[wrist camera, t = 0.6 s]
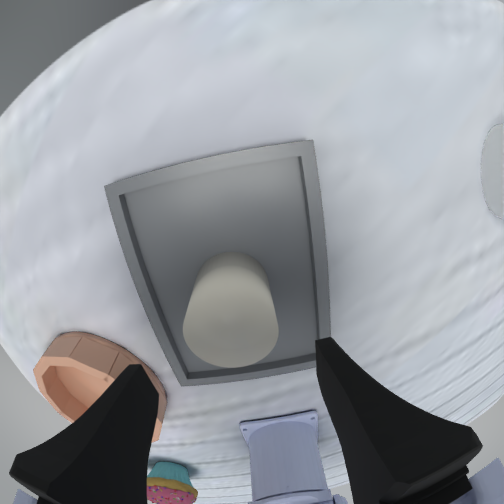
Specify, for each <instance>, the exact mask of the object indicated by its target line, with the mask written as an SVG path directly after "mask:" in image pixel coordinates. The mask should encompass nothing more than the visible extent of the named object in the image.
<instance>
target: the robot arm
mask: <svg viewBox="0 0 504 504" xmlns="http://www.w3.org/2000/svg"><path fill="white" fill-rule="evenodd" d="M315 349H316V370H317V378H318V382H319V386H320V389H321V393H322V397H323V399H324V402H325V404H326V407H327V410H328V412H329V415H330V417H331V420H332V422H333V425H334V428H335V430H336V433H337V435H338V438H339V441H340V444H341V447H342V451H343V455H344V459H345V464H346V468H347V472H348V477H349V481H350V486H351V491H352V496H353V502H354V504H504V467H503V465H502V463H501V461H500V460H499V458H496V459H495V460H494V461H492V462H491V463H490V464H488V465H487V466H486V467H484V468H483V469H482V470H480V471H479V472H478V473H476V474H475V475H474V476H472V477H471V478H469V479H468V478H467V476H466V474H467V473H469V470H468V468H467V466H466V465H467V464H468V463H469V462H470V461H471V460H472V459H473V458H474V457H475V456H476V455H477V454H478V453H479V452H480V450H481V449H482V446H483V445H482V443H481V442H480V440H479V438H478V436H477V435H476V433H475V432H474V431H473V429H472V428H471V427H469V426H465V425H461V424H458V423H454V422H451V421H448V420H445V419H443V418H440V417H437V416H435V415H432V414H430V413H428V412H426V411H424V410H422V409H420V408H418V407H416V406H414V405H412V404H410V403H408V402H407V401H405V400H403V399H402V398H400V397H398V396H397V395H395V394H394V393H392V392H391V391H389V390H388V389H387V388H385V387H384V386H382V385H381V384H380V383H379V382H377V381H376V380H375V379H374V378H372V377H371V376H370V375H369V374H368V373H366V372H365V371H364V370H363V369H362V368H361V367H360V366H359V365H358V364H357V363H355V362H354V361H353V360H352V359H351V358H350V357H349V356H348V355H347V354H346V353H345V352H344V351H343V349H342V348H341V347H340V346H339V345H338V344H337V343H336V342H335V341H334V339H333V338H331V337H327V338H323V339H319V340H315ZM158 406H159V393H158V391H157V390H156V388H155V386H154V385H153V383H152V382H151V380H150V378H149V377H148V375H147V373H146V371H145V370H144V368H143V366H142V364H129V365H128V366H127V367H126V368H125V369H124V370H123V371H122V372H121V374H120V375H119V376H118V377H117V378H116V379H115V380H114V381H113V383H112V384H111V385H110V386H109V387H108V388H107V389H106V390H105V392H104V393H103V394H102V395H101V396H100V397H99V398H98V399H97V400H96V401H95V402H94V403H93V404H92V405H91V406H90V407H89V408H88V409H87V410H86V411H85V412H84V413H83V414H82V415H81V416H80V417H79V418H78V419H77V420H75V421H74V422H73V423H72V424H71V425H70V426H68V427H67V428H66V429H64V430H63V431H61V432H60V433H58V434H57V435H55V436H54V437H53V438H51V439H49V440H47V441H46V442H44V443H42V444H40V445H38V446H36V447H34V448H32V449H30V450H27V451H25V452H22V453H20V454H17V455H16V457H15V460H14V462H13V465H12V467H11V470H10V472H9V474H10V476H11V477H12V478H14V479H15V480H16V481H17V482H19V483H20V484H22V485H23V486H25V487H26V488H27V489H29V490H30V491H32V492H33V493H35V494H36V495H38V496H39V498H38V500H37V499H35V498H33V497H32V496H30V495H28V494H26V493H25V492H23V491H22V490H20V489H18V491H17V494H16V496H15V499H14V503H13V504H147V467H148V458H149V452H150V447H151V443H152V438H153V433H154V429H155V424H156V420H157V415H158ZM239 428H240V430H241V432H242V435H243V437H244V439H245V441H246V443H247V445H248V447H249V449H250V467H251V484H252V501H253V502H248V504H348V503H347V501H346V499H345V497H342V496H340V495H339V494H336V495H333V500H332V496H331V491H330V489H328V487H327V482H326V478H325V474H324V470H323V465H322V461H321V457H320V453H319V448H318V414H317V412H316V411H310V412H305V413H300V414H295V415H290V416H284V417H278V418H272V419H266V420H259V421H251V422H243V423H240V424H239Z"/></svg>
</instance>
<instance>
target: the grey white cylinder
mask: <svg viewBox="0 0 504 504" xmlns="http://www.w3.org/2000/svg"><path fill="white" fill-rule="evenodd" d="M481 182H482V190H483V194H484V198H485V202H486V204H487V206H488V208H489V210H490V211H491V212H492V213H493V215H494V216H496V217H499V218H501V219H503V220H504V124H499V125H496V126H494V127H493V128H492V129H491V130H490V131H489V133H488V135H487V137H486V139H485V142H484V146H483V150H482V158H481Z"/></svg>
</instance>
